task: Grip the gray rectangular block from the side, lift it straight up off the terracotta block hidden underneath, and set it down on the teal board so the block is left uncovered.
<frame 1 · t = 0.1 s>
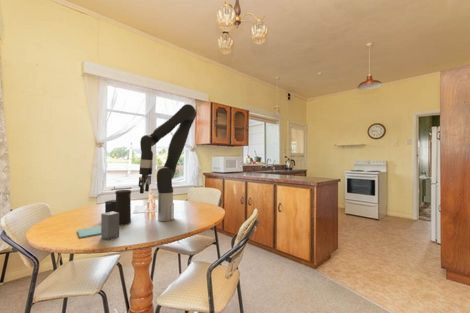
hand: (144, 192, 144), 17 cm above the table, tool pointing down, fingers open, 8 cm apart
container: (123, 223, 136), on the table
gray rectangular block: (110, 237, 112), on the table
teal board: (93, 232, 120), on the table
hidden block: (110, 234, 112), in the gray rectangular block
small box: (117, 219, 144), on the table
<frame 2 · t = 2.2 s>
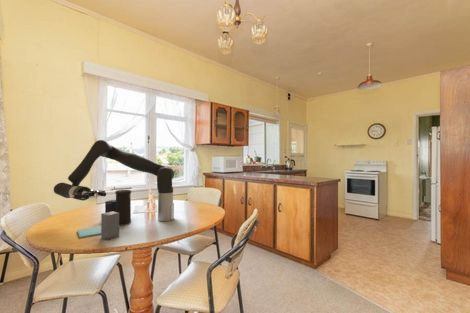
hand: (97, 195, 117), 20 cm above the table, tool horizontal, fingers open, 8 cm apart
nothing on the table moved.
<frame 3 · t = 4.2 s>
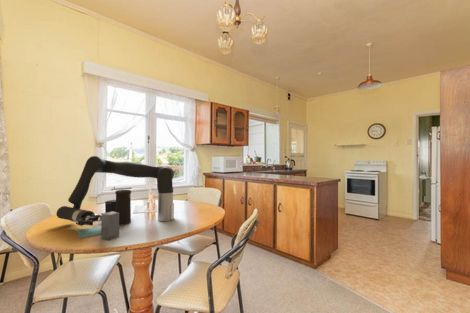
hand: (100, 221, 116), 7 cm above the table, tool horizontal, fingers open, 8 cm apart
nothing on the table moved.
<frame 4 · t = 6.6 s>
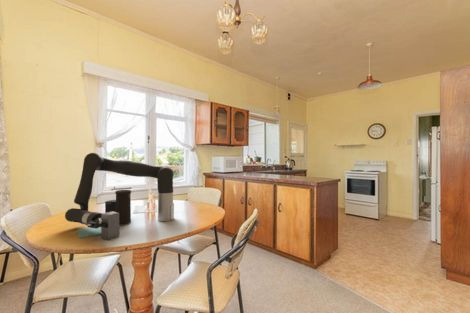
hand: (113, 224, 111), 7 cm above the table, tool horizontal, fingers closed on gray rectangular block, 5 cm apart
gray rectangular block: (110, 237, 112), on the table, touching gripper
everything else where it was.
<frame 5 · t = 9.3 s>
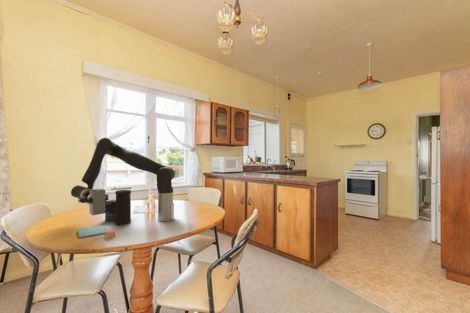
hand: (99, 200, 115), 18 cm above the table, tool horizontal, fingers closed on gray rectangular block, 5 cm apart
gray rectangular block: (97, 213, 116), point 11 cm above the table, touching gripper
everything else where it was.
when the fingers open (9 cm above the table, at t = 12.0 s): gray rectangular block drops 1 cm, resting on teal board.
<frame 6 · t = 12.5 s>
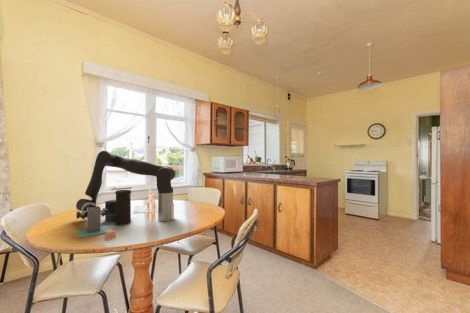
hand: (94, 215, 118), 9 cm above the table, tool horizontal, fingers open, 8 cm apart
gray rectangular block: (93, 230, 120), point 1 cm above the table, touching teal board
everything else where it was.
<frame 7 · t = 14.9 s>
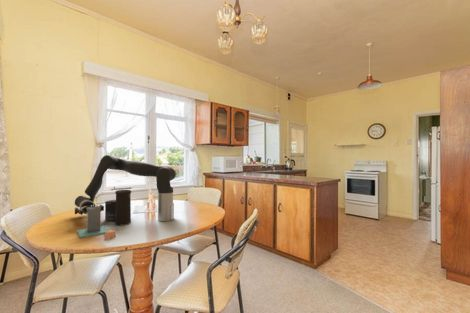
hand: (91, 211, 127), 9 cm above the table, tool horizontal, fingers open, 8 cm apart
nothing on the table moved.
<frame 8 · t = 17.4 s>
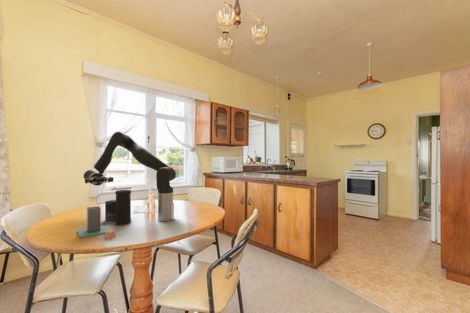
hand: (101, 181, 128), 26 cm above the table, tool horizontal, fingers open, 8 cm apart
nothing on the table moved.
at the end: gray rectangular block inside the target area on the teal board (0.0 cm from its centre), point 0.8 cm above the teal board's base; gray rectangular block tilted 0°; the gripper is holding nothing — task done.
